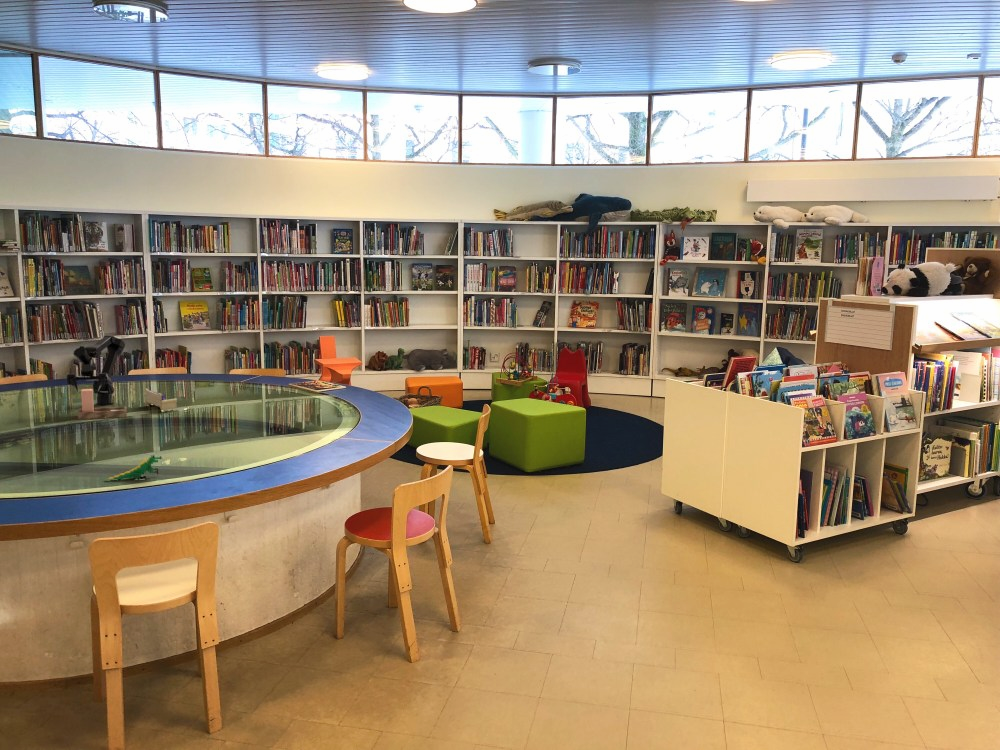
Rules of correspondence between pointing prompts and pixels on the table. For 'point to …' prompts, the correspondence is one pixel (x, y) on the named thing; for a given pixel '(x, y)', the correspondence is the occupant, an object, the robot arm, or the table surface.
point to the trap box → (103, 413)
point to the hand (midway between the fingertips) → (87, 391)
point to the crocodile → (140, 469)
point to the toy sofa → (159, 400)
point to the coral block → (87, 400)
